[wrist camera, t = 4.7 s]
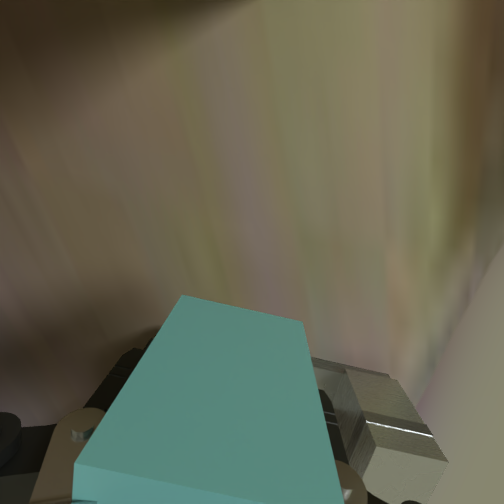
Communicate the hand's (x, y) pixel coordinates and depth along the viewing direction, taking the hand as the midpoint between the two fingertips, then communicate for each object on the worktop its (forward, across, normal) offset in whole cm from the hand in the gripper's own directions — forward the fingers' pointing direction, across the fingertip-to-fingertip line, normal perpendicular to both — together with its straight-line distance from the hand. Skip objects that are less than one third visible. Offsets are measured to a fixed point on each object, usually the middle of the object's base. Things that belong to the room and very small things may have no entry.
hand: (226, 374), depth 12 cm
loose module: (+1, 0, 0) cm, 1 cm away
